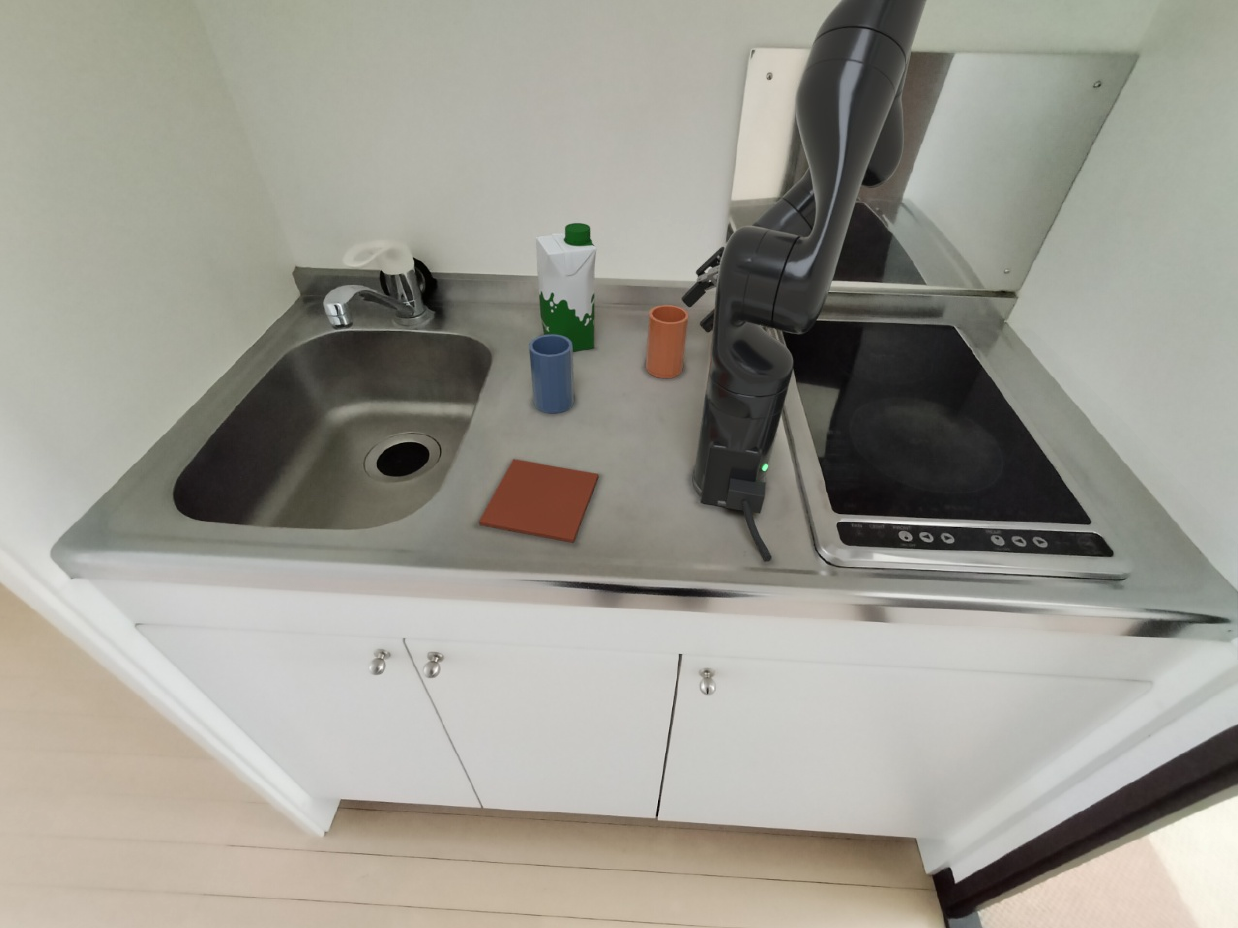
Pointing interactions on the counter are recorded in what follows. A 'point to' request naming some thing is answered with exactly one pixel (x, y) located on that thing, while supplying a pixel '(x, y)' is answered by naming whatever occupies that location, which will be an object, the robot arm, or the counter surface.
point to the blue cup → (552, 373)
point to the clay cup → (666, 341)
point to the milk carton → (567, 284)
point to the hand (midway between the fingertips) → (693, 315)
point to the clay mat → (540, 500)
